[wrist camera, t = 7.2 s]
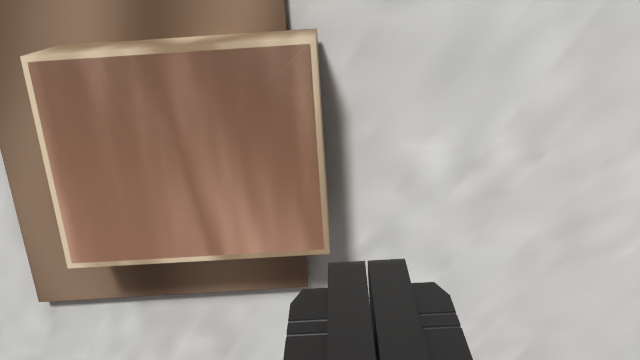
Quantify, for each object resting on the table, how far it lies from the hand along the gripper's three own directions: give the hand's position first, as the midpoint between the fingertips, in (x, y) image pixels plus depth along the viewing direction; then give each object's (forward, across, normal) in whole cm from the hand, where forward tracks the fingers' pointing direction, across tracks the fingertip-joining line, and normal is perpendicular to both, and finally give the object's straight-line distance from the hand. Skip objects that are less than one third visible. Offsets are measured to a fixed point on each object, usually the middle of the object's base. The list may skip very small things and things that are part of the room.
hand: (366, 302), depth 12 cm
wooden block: (+12, +1, 0) cm, 12 cm away
